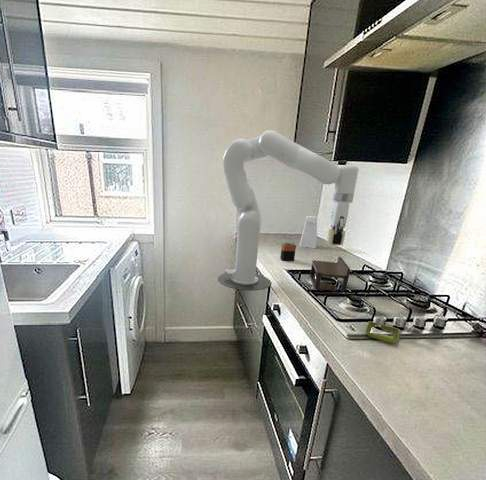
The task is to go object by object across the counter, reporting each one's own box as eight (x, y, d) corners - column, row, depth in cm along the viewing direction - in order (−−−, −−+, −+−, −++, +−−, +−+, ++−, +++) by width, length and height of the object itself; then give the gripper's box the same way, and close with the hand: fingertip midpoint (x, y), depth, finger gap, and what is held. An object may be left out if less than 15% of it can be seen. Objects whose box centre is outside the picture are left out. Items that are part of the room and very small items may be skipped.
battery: (279, 258, 171) (282, 241, 168) (291, 259, 172) (293, 241, 169) (282, 260, 167) (284, 243, 164) (294, 261, 168) (296, 243, 165)
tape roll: (327, 244, 124) (330, 231, 122) (325, 241, 130) (327, 228, 128) (344, 246, 123) (346, 232, 121) (341, 242, 129) (343, 229, 127)
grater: (299, 243, 213) (303, 215, 207) (315, 245, 211) (320, 216, 204) (299, 246, 204) (304, 217, 197) (316, 248, 201) (321, 218, 195)
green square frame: (367, 326, 97) (368, 320, 97) (398, 334, 93) (400, 328, 92) (363, 337, 90) (365, 331, 90) (396, 347, 86) (398, 340, 85)
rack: (314, 291, 125) (318, 265, 122) (309, 276, 144) (313, 254, 140) (345, 294, 123) (350, 269, 120) (336, 279, 142) (340, 256, 138)
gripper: (329, 196, 129) (322, 237, 135) (336, 199, 113) (328, 245, 119) (348, 197, 128) (340, 238, 134) (358, 200, 112) (348, 247, 118)
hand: (334, 241), depth 126 cm, fingers closed on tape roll, 6 cm apart
